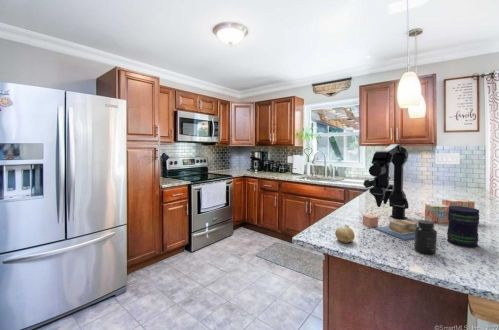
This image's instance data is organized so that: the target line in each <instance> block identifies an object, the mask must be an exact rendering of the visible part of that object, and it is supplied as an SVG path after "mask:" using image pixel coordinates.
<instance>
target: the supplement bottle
mask: <svg viewBox="0 0 499 330" xmlns="http://www.w3.org/2000/svg"><path fill="white" fill-rule="evenodd" d="M434 225H435V223H433V222H431V221H427V220H425V219H419V220H418V223H417V227H416V228H415V239H414V242H413V243H414V251H415V252H417V253H419V254H421V255H422V254H423V255H426V256H434V255H436V254H437V238H438V232H437V231H436V229H435V226H434Z"/></svg>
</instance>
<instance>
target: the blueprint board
mask: <svg viewBox="0 0 499 330" xmlns="http://www.w3.org/2000/svg"><path fill="white" fill-rule="evenodd" d="M389 226H390V225H387V226H386V225H385V226H376V227H374V230H375V231H378V232H381V233H383V234H385V235H388V236H391V237H394V238H396V239H399V240H402V241H411V240H415V232H410V233H402V234H400V233H397V232H394V231H392V230H389Z"/></svg>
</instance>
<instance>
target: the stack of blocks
mask: <svg viewBox="0 0 499 330" xmlns="http://www.w3.org/2000/svg"><path fill="white" fill-rule="evenodd" d="M441 201H442V202H441V203H439V204H438V203H426V204H425V205H424V220H427V221H431V222H433V223H434V224H435V223H436V224H448V223H449V220H448V210H449V209H448V207H449V206H461V207H469V208H474V209H476V207H475V203H476V202H475V201H473V200H469V199H463V198H462V199H460V198H450V199H449V198H442V200H441Z"/></svg>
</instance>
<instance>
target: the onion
mask: <svg viewBox="0 0 499 330" xmlns="http://www.w3.org/2000/svg"><path fill="white" fill-rule="evenodd" d="M334 234H335V237H336V239H337V241H338V242H340V243H345V244H349V242H350V243H352V242H353V241H354V240H355V236H356V235H355V232H354V230H353V229H352V228H351V227H350V226H349V225H347V224H344V226H339V227H338V228H337V229H336V230H335V233H334Z"/></svg>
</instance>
